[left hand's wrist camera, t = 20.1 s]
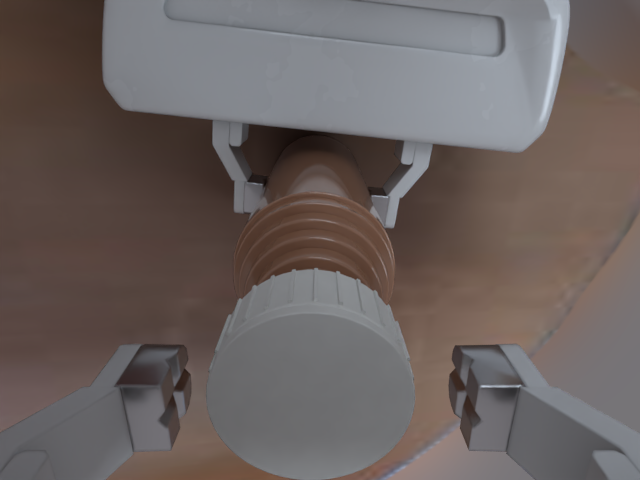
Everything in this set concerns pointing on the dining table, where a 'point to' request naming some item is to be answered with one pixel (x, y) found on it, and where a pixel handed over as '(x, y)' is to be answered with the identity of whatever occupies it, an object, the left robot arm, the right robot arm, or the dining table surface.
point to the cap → (311, 377)
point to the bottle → (315, 221)
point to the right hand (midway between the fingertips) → (315, 217)
